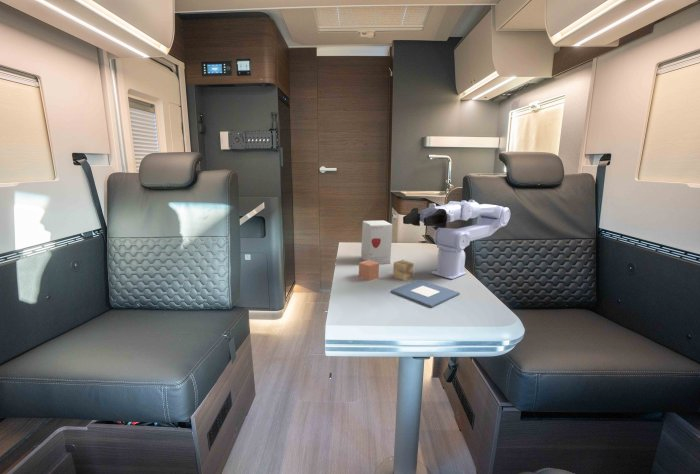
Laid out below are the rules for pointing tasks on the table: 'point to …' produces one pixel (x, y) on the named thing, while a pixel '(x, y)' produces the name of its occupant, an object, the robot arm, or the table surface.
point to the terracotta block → (368, 270)
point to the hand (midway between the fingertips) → (414, 221)
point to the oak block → (403, 270)
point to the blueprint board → (425, 293)
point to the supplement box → (376, 241)
